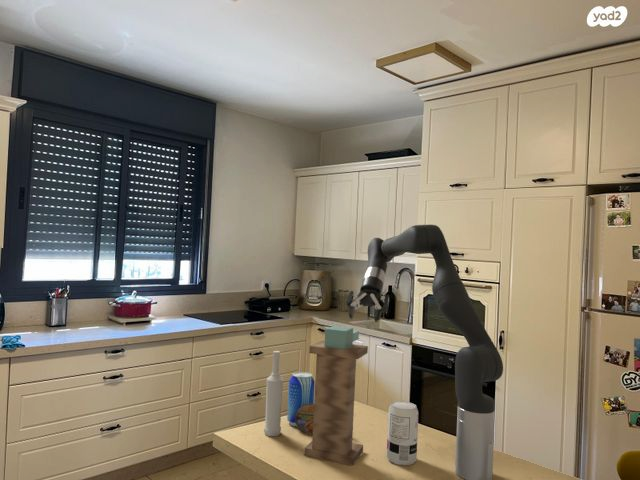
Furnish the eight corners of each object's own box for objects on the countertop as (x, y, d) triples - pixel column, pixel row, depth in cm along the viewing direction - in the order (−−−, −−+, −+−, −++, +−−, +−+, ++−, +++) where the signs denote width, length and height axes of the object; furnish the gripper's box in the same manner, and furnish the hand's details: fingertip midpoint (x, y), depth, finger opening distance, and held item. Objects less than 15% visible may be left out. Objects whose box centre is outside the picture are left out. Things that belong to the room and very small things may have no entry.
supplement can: (381, 455, 131) (383, 401, 131) (406, 452, 134) (408, 399, 134) (395, 468, 123) (398, 410, 124) (422, 464, 126) (424, 408, 127)
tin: (294, 431, 146) (295, 404, 146) (295, 427, 149) (297, 401, 149) (342, 435, 144) (343, 408, 144) (342, 432, 147) (343, 405, 148)
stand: (362, 451, 132) (367, 346, 134) (352, 465, 123) (357, 351, 124) (317, 442, 138) (322, 340, 139) (304, 455, 128) (309, 345, 130)
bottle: (277, 437, 140) (282, 353, 141) (261, 435, 141) (266, 352, 142) (282, 431, 145) (286, 350, 146) (266, 429, 146) (271, 349, 147)
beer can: (283, 420, 155) (285, 372, 156) (306, 417, 158) (309, 370, 159) (292, 429, 147) (295, 378, 148) (316, 426, 151) (319, 376, 151)
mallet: (364, 339, 144) (364, 323, 145) (344, 349, 127) (345, 331, 127) (345, 337, 147) (346, 321, 147) (324, 346, 129) (325, 328, 129)
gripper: (352, 273, 166) (341, 309, 155) (392, 277, 161) (383, 314, 150) (355, 287, 171) (344, 323, 160) (393, 291, 166) (385, 328, 155)
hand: (363, 318), depth 155 cm, fingers open, 8 cm apart
